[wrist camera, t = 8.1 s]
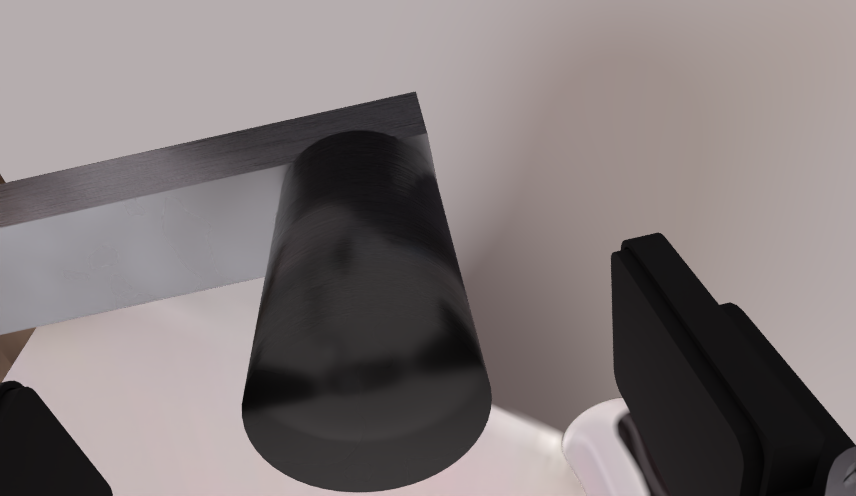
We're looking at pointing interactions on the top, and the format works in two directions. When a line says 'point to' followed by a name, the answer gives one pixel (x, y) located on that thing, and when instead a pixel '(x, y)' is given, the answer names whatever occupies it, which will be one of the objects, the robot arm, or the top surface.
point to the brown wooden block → (11, 343)
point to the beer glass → (611, 453)
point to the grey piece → (281, 280)
